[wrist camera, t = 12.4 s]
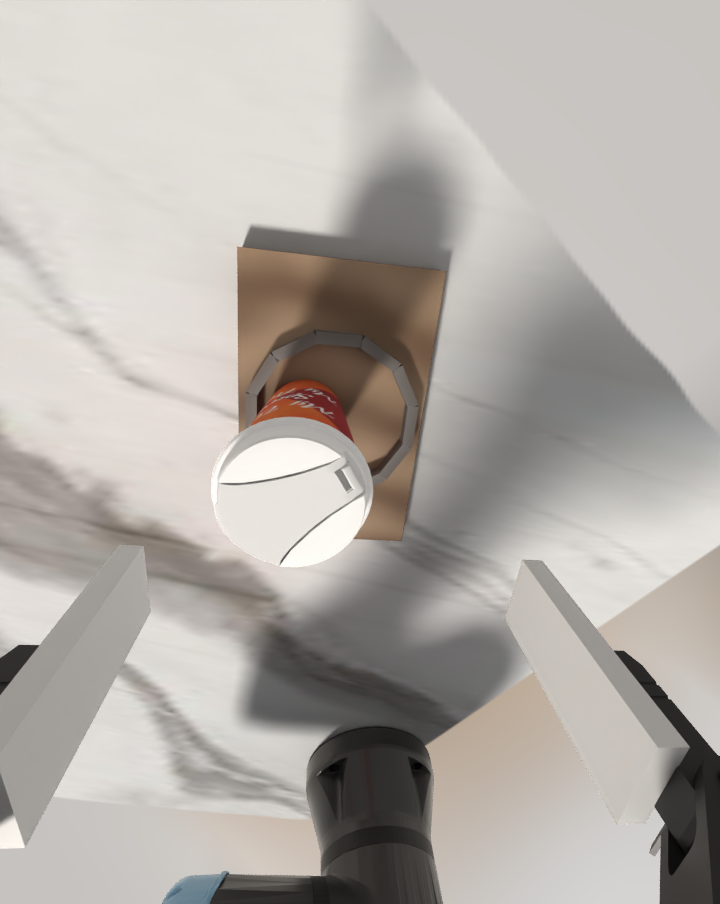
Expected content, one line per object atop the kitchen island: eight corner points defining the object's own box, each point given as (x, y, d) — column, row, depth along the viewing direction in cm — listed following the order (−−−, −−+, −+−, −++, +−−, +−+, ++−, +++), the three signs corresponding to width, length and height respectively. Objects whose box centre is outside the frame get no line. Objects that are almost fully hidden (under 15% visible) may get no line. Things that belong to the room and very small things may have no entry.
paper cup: (326, 345, 30) (326, 394, 17) (372, 434, 33) (402, 534, 20) (232, 394, 31) (164, 478, 18) (285, 477, 33) (260, 600, 21)
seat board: (398, 531, 38) (403, 548, 36) (242, 524, 37) (236, 542, 34) (440, 271, 30) (451, 270, 27) (241, 248, 28) (233, 245, 26)
